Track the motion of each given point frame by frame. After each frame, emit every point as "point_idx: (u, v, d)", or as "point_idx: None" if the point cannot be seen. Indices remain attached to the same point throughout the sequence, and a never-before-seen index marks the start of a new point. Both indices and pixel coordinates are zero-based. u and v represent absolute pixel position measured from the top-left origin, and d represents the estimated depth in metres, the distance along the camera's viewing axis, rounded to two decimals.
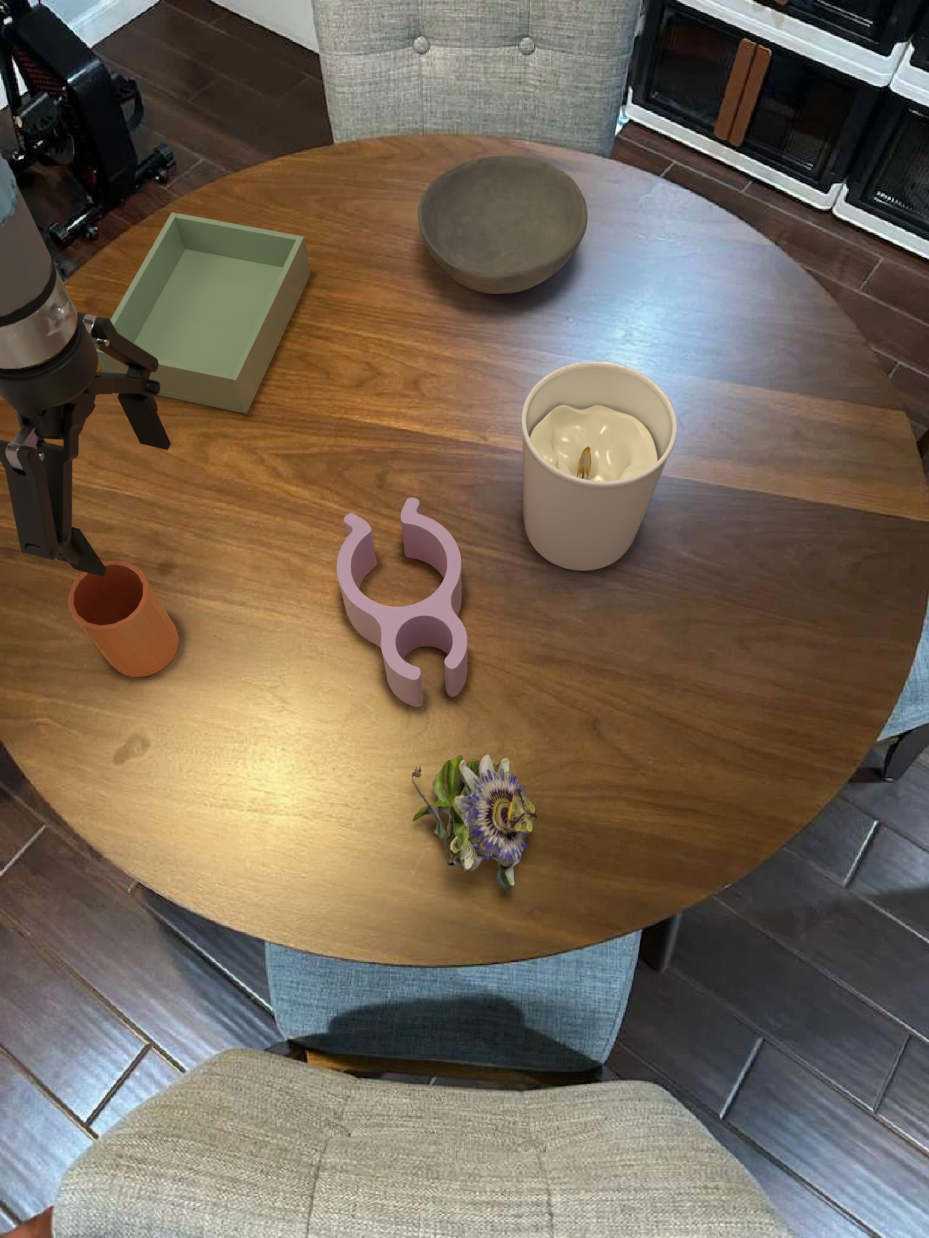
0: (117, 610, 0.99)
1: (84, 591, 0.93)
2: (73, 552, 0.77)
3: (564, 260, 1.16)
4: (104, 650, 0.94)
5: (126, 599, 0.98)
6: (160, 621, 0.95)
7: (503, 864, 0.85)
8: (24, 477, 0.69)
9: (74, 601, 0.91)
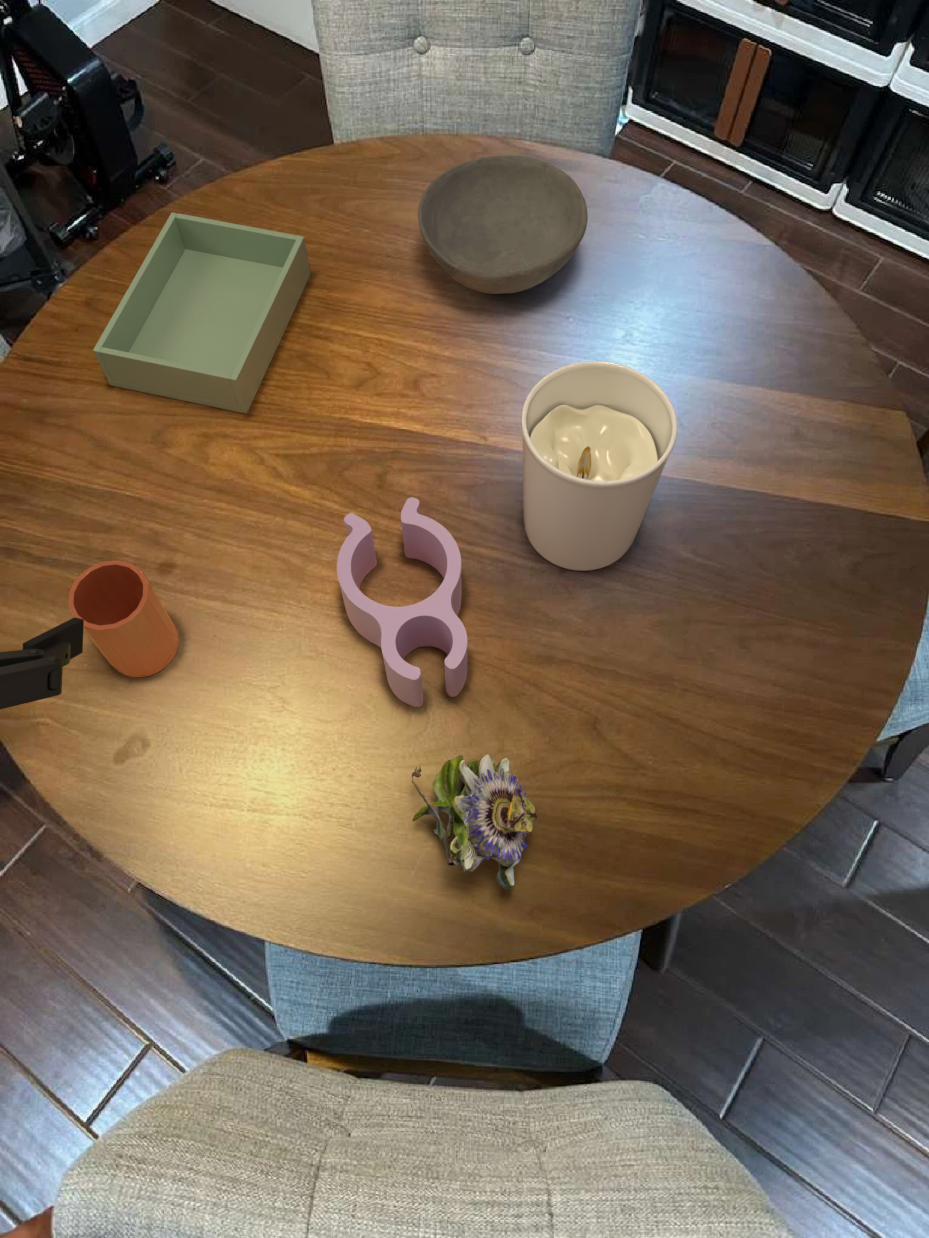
0: (117, 610, 0.99)
1: (84, 591, 0.93)
2: None
3: (564, 260, 1.16)
4: (104, 650, 0.94)
5: (126, 599, 0.98)
6: (160, 621, 0.95)
7: (503, 864, 0.85)
8: None
9: (74, 601, 0.91)
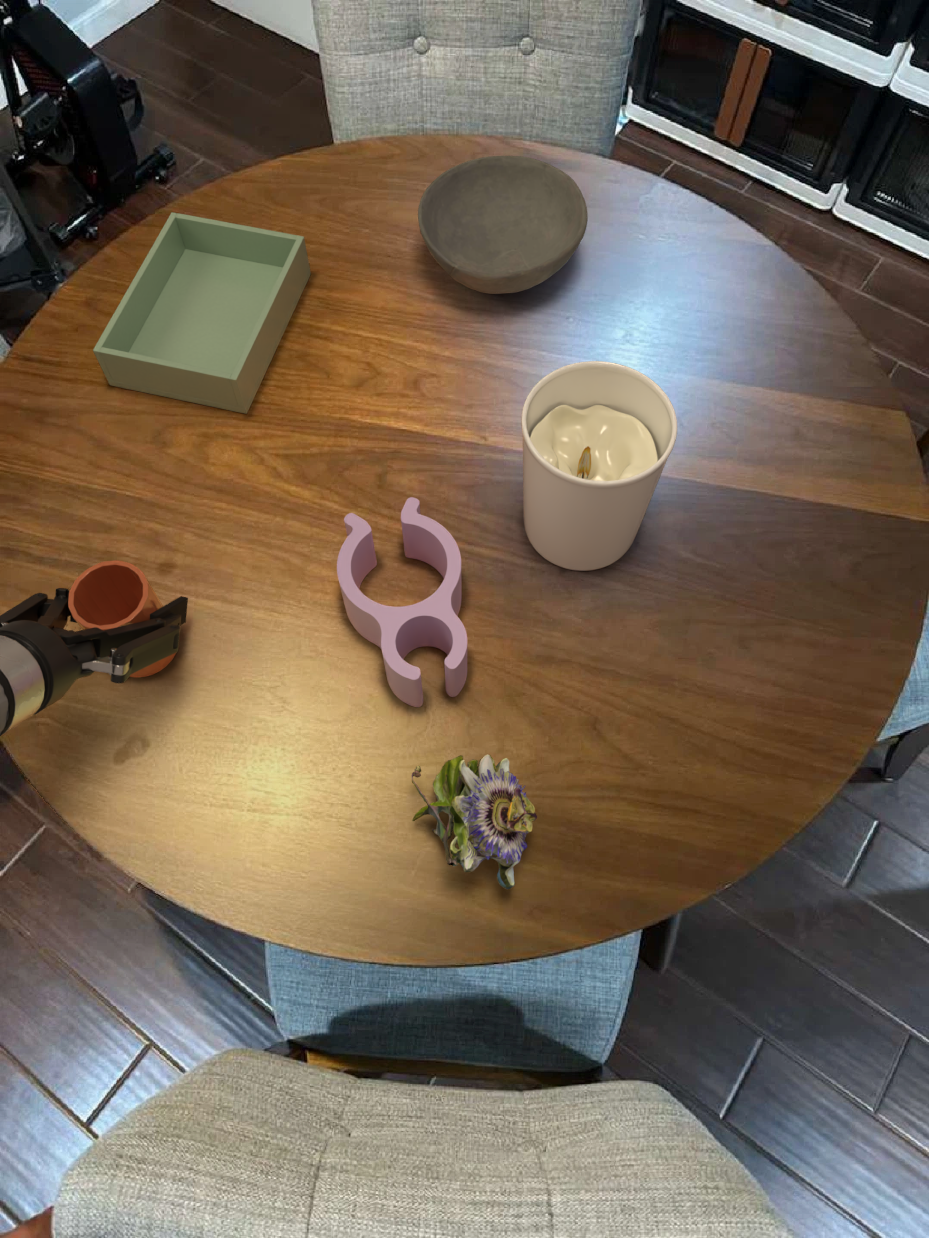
0: (117, 610, 0.99)
1: (84, 591, 0.93)
2: None
3: (564, 260, 1.16)
4: None
5: (126, 599, 0.98)
6: None
7: (503, 864, 0.85)
8: None
9: (74, 601, 0.91)
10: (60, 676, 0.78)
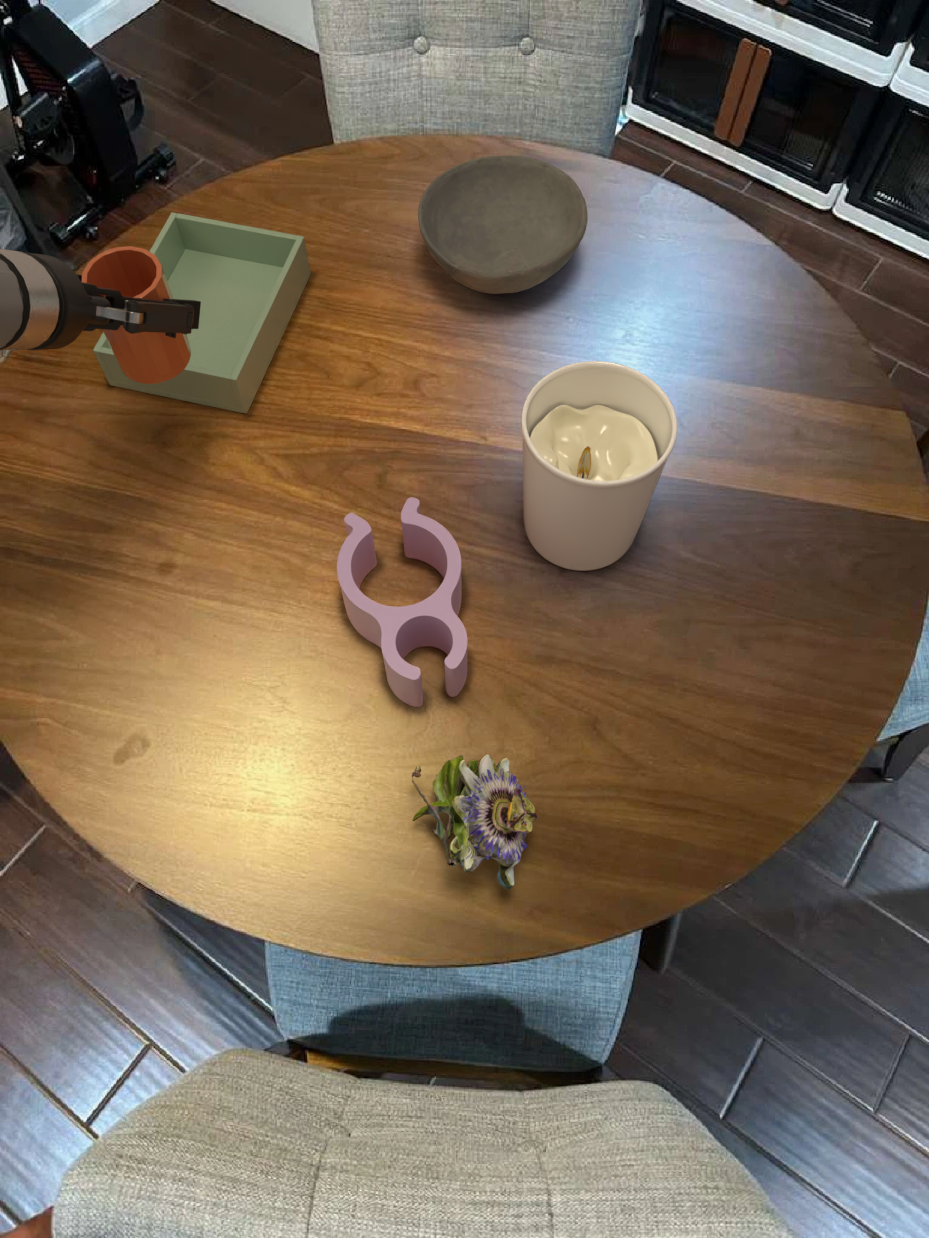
0: None
1: (97, 278, 0.93)
2: None
3: (564, 260, 1.16)
4: (117, 341, 0.94)
5: None
6: None
7: (503, 864, 0.85)
8: None
9: (87, 280, 0.90)
10: (74, 306, 0.78)
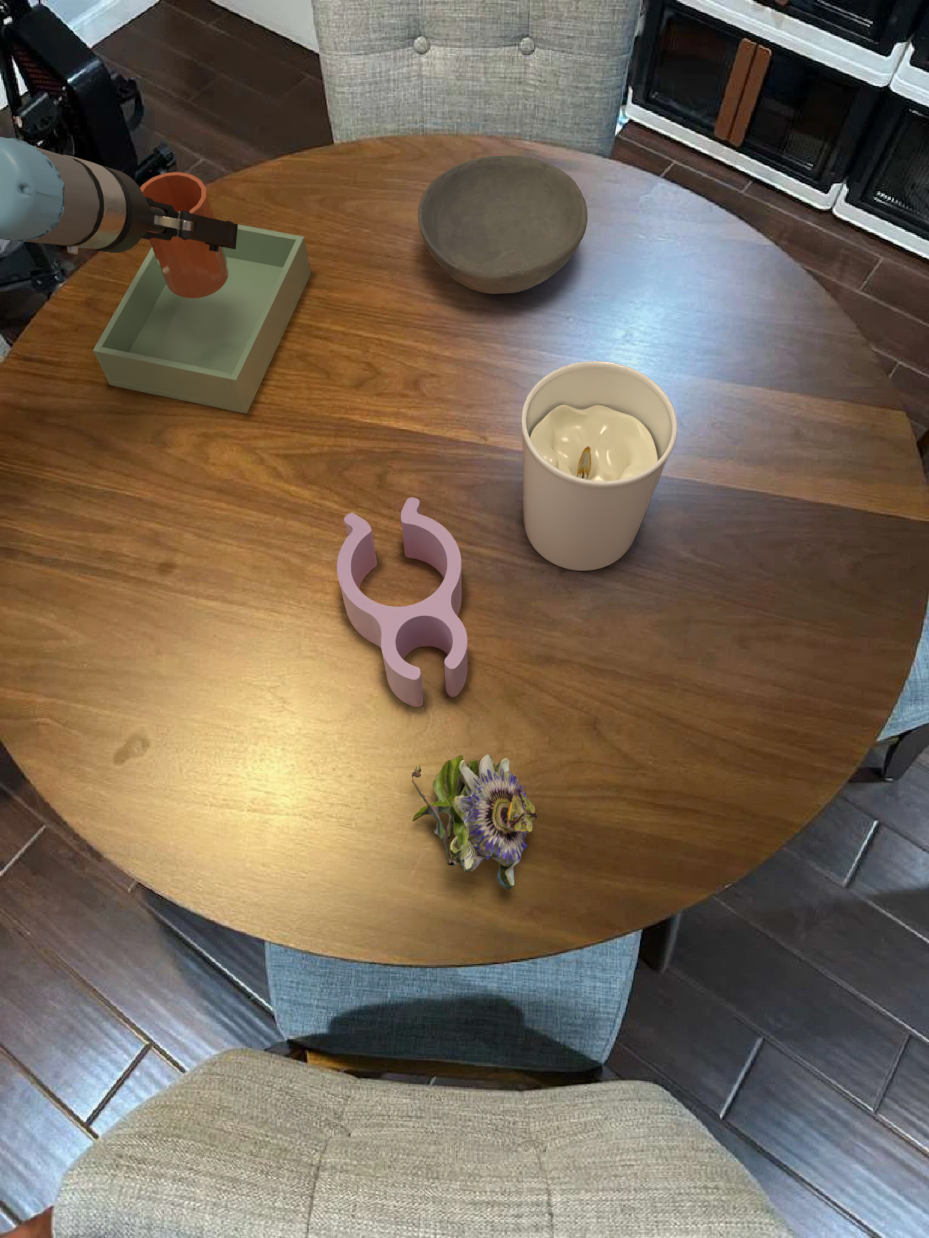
0: None
1: None
2: None
3: (564, 260, 1.16)
4: (166, 256, 1.06)
5: None
6: None
7: (503, 864, 0.85)
8: None
9: None
10: (138, 212, 0.91)
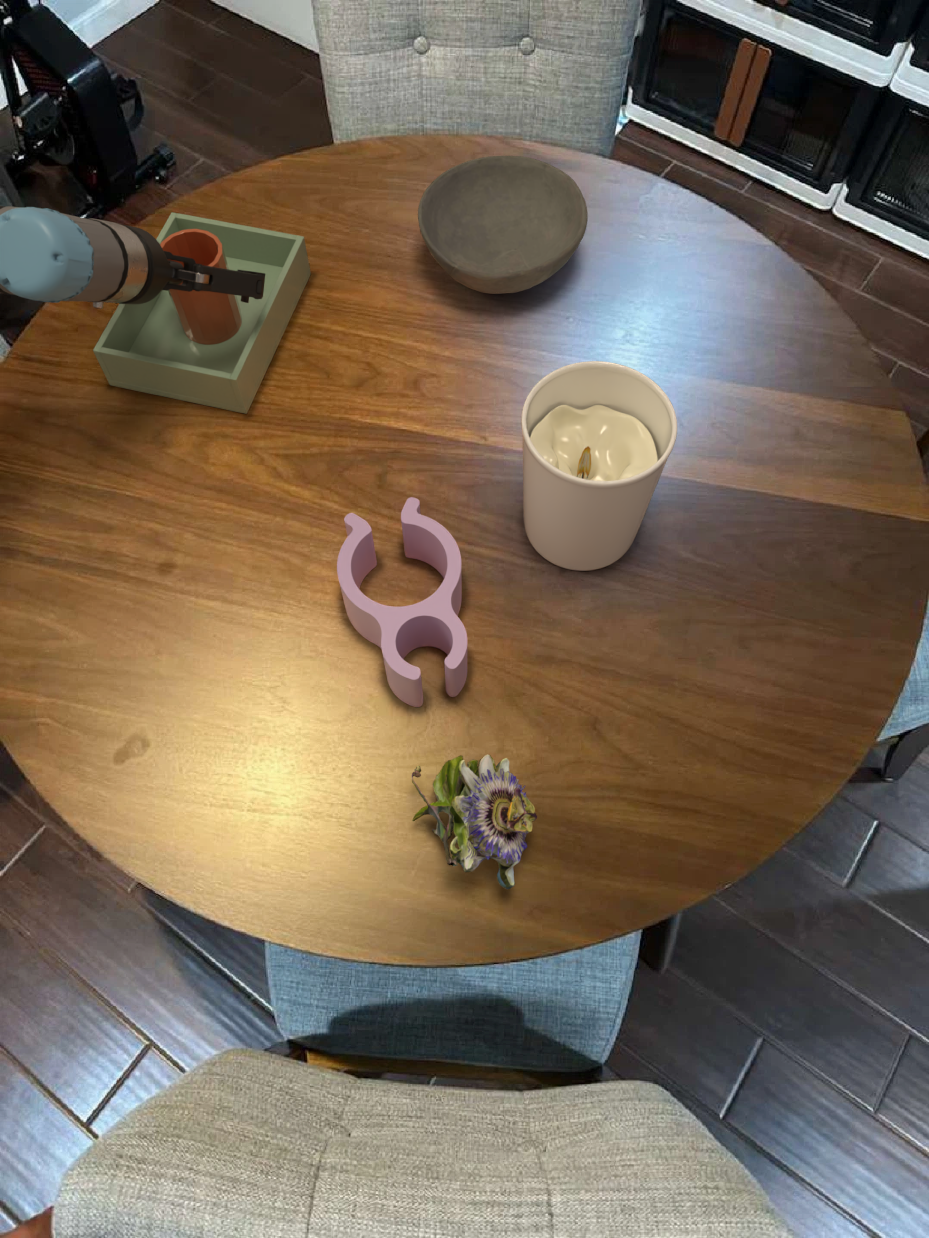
0: None
1: None
2: None
3: (564, 260, 1.16)
4: (184, 307, 1.13)
5: None
6: None
7: (503, 864, 0.85)
8: None
9: None
10: (158, 267, 0.97)
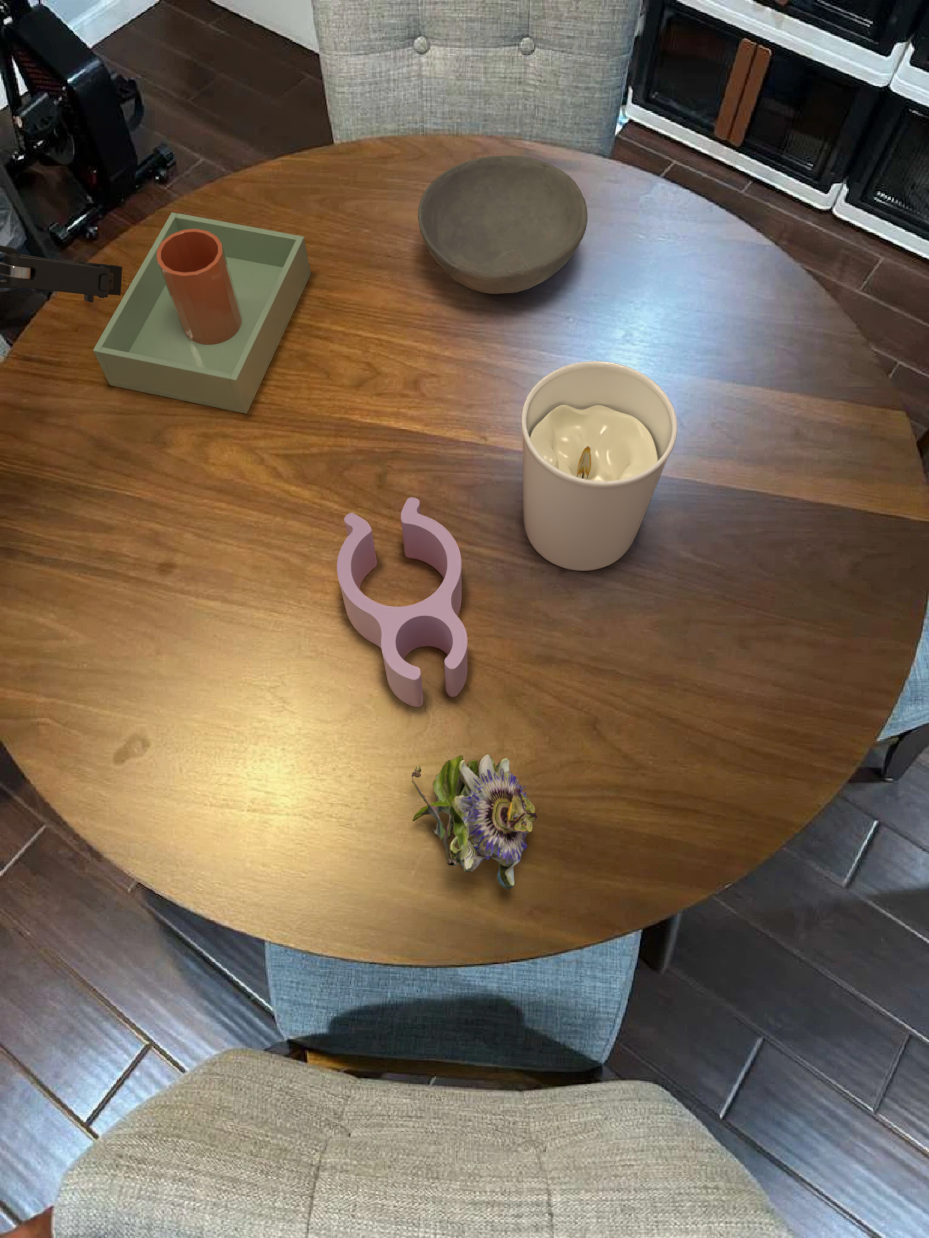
0: None
1: (168, 255, 1.12)
2: None
3: (564, 260, 1.16)
4: (184, 307, 1.13)
5: None
6: (230, 286, 1.14)
7: (503, 864, 0.85)
8: None
9: (161, 257, 1.10)
10: None
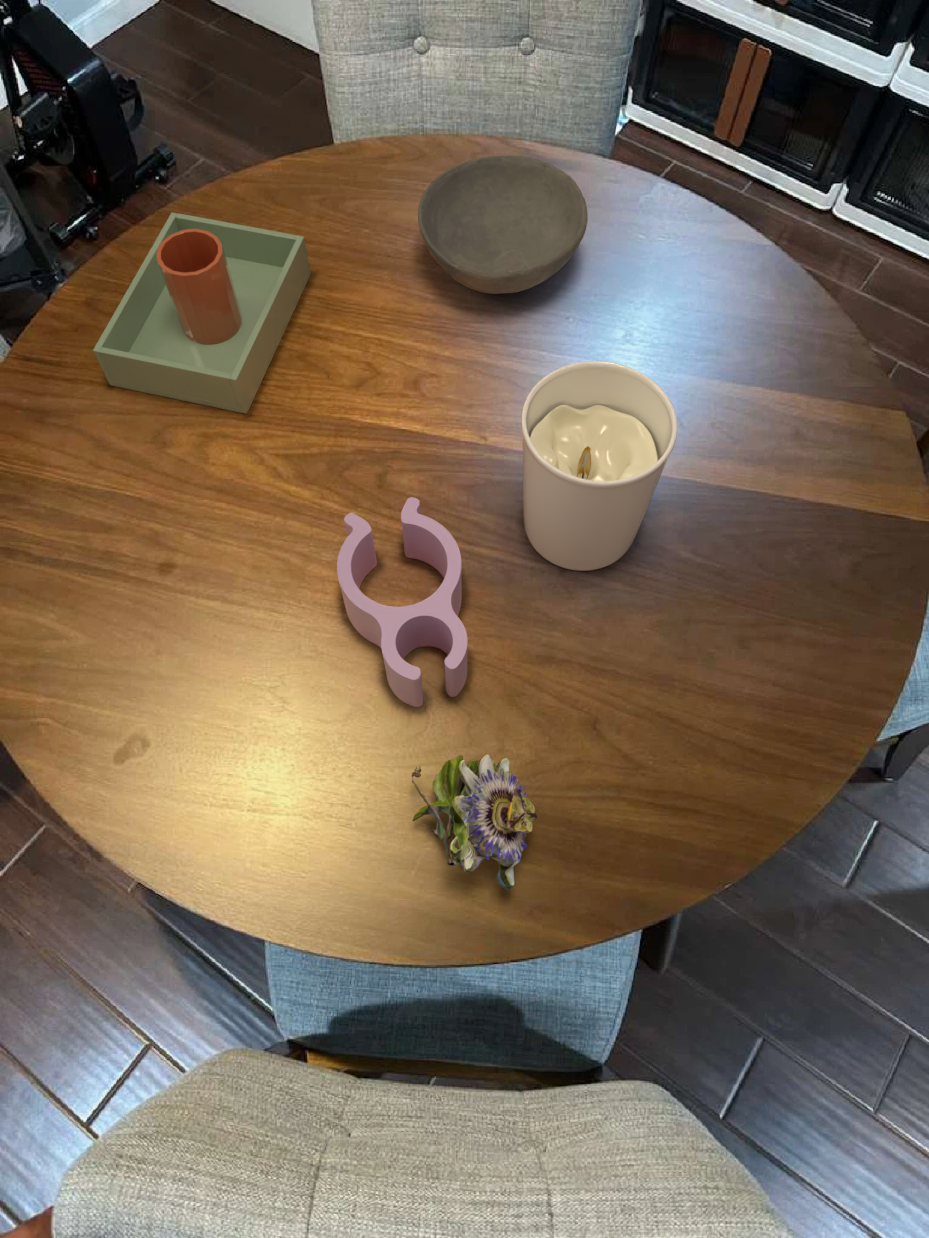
0: None
1: (168, 255, 1.12)
2: None
3: (564, 260, 1.16)
4: (184, 307, 1.13)
5: None
6: (230, 286, 1.14)
7: (503, 864, 0.85)
8: None
9: (161, 257, 1.10)
10: None
